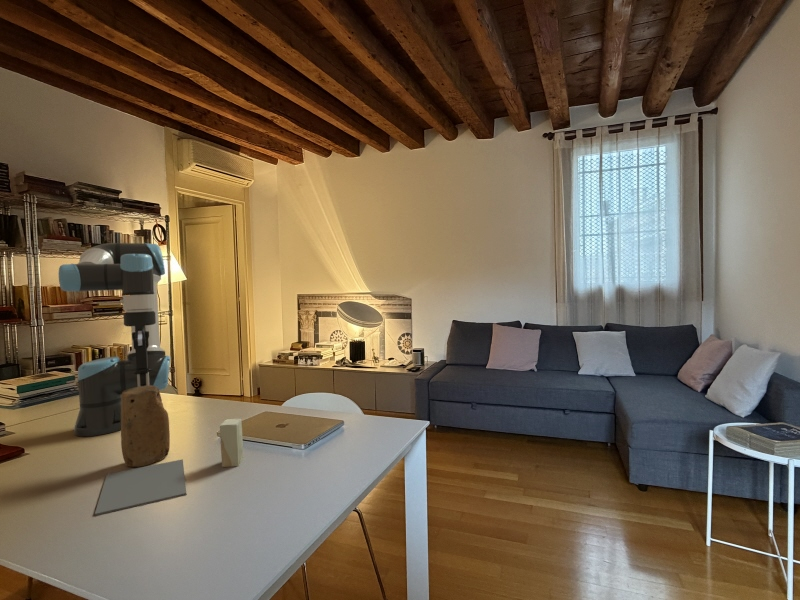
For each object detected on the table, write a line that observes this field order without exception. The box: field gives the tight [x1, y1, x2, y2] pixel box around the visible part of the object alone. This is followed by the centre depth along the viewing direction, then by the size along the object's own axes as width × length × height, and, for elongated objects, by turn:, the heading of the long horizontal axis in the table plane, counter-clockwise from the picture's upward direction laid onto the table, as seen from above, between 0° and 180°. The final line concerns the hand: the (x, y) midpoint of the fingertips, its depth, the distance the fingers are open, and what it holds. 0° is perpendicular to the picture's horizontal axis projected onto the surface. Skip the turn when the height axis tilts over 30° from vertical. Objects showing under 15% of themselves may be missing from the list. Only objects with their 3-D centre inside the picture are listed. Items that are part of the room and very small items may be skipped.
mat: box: [94, 459, 188, 517], centre depth 104 cm, size 22×17×1 cm
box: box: [219, 418, 244, 468], centre depth 115 cm, size 5×4×11 cm
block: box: [120, 385, 171, 468], centre depth 117 cm, size 11×8×20 cm
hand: (144, 396), depth 121 cm, fingers closed
